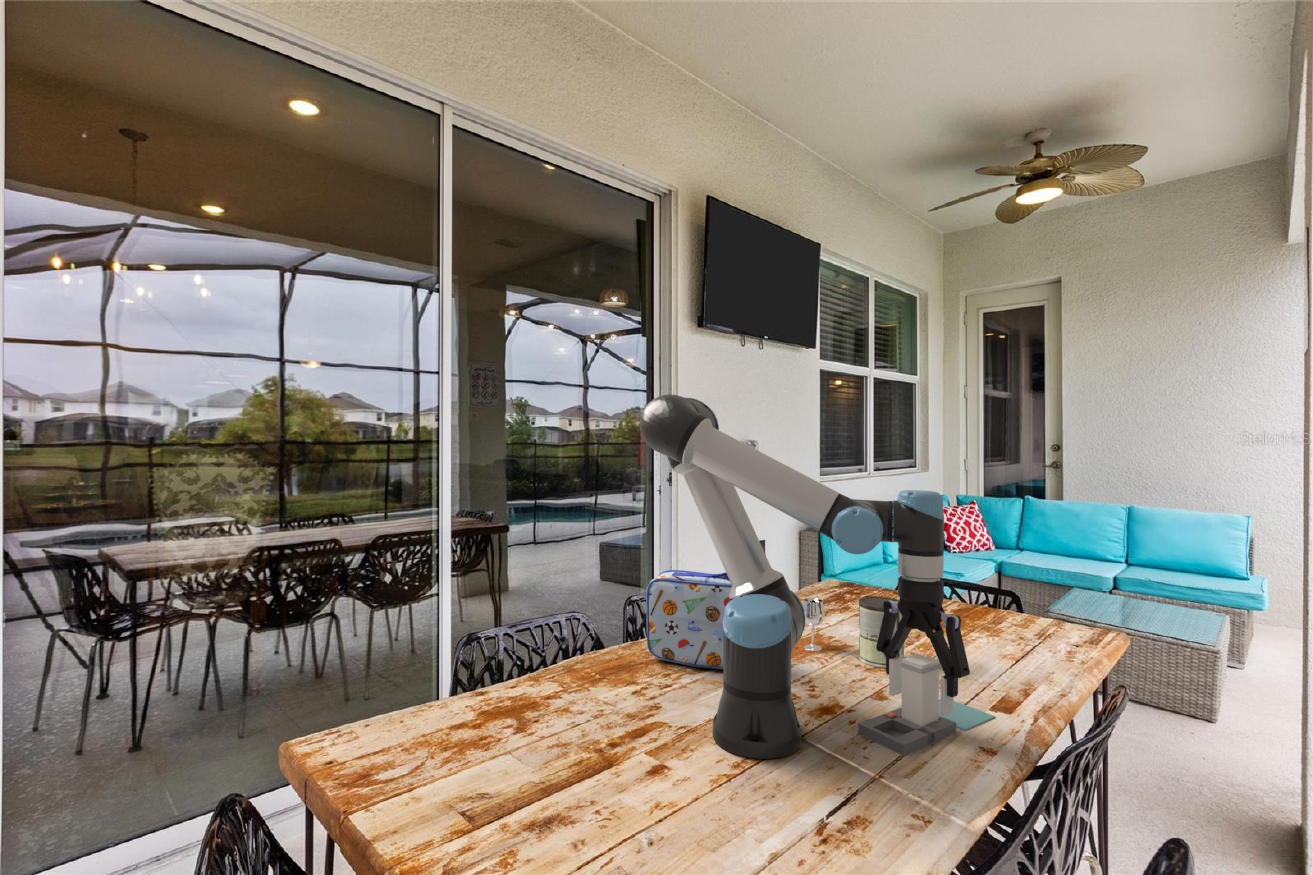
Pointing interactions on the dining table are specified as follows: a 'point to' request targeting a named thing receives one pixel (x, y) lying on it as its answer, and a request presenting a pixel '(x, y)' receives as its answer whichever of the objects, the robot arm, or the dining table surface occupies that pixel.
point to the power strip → (904, 732)
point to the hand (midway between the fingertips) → (920, 703)
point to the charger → (920, 689)
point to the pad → (967, 716)
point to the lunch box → (687, 617)
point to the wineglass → (813, 618)
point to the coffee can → (873, 630)
